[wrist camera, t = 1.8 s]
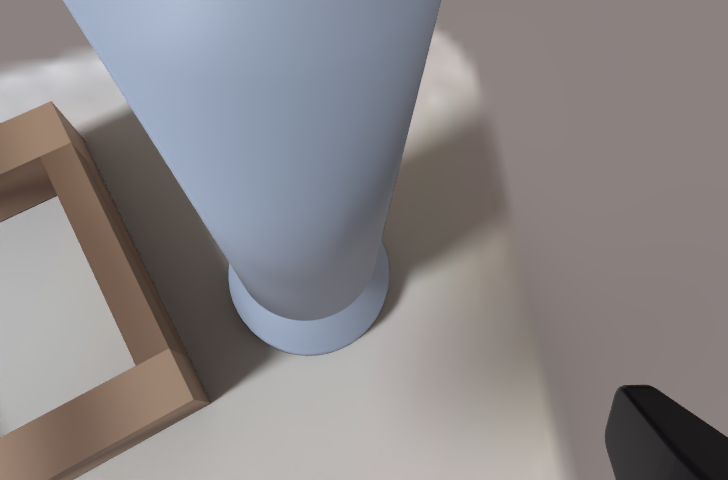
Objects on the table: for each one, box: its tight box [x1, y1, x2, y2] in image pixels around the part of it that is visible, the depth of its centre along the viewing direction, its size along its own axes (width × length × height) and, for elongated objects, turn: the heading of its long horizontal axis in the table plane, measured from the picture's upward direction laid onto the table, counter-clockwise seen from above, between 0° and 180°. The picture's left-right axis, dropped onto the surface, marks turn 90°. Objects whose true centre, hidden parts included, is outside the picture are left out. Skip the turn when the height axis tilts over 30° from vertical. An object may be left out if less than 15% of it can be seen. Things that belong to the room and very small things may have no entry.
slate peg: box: [63, 0, 441, 356], centre depth 14 cm, size 5×5×16 cm
